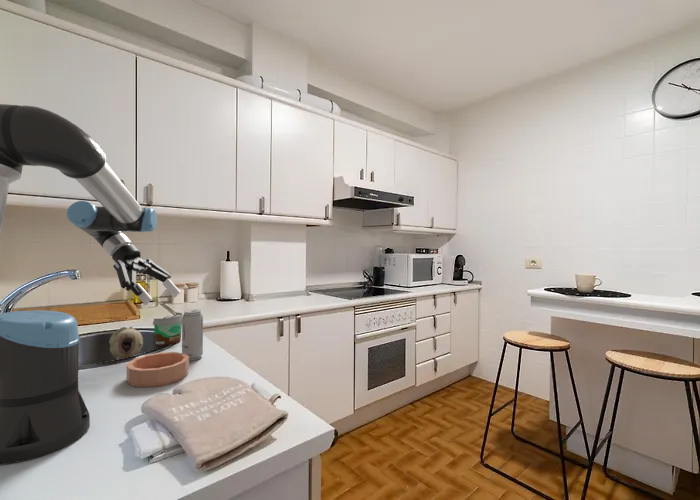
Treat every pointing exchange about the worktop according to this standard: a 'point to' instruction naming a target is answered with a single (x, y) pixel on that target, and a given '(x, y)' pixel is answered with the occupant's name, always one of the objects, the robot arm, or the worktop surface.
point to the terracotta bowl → (157, 369)
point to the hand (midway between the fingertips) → (164, 298)
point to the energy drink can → (192, 334)
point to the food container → (168, 329)
